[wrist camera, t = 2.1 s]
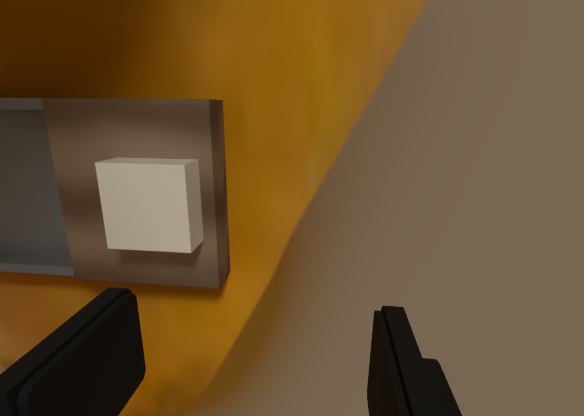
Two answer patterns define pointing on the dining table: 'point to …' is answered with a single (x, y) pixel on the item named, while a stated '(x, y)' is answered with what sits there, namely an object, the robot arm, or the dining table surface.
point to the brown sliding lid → (138, 144)
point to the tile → (151, 203)
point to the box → (29, 194)
